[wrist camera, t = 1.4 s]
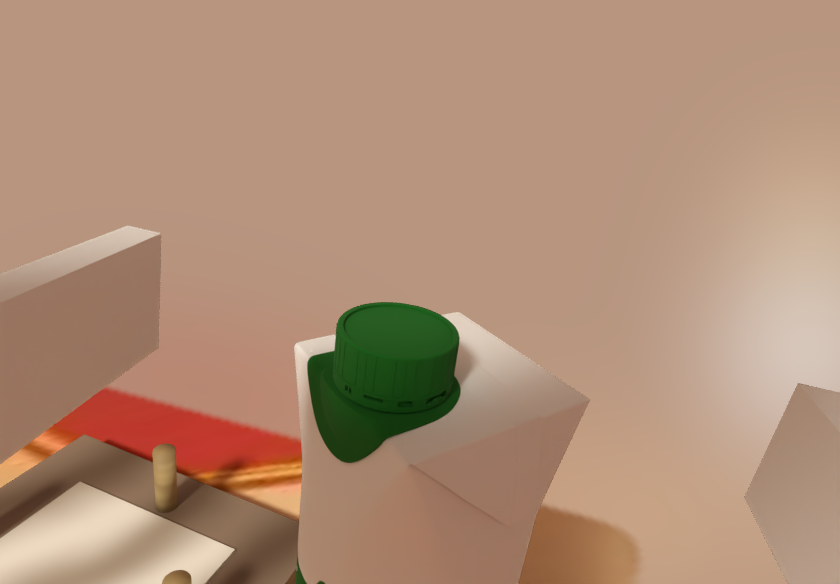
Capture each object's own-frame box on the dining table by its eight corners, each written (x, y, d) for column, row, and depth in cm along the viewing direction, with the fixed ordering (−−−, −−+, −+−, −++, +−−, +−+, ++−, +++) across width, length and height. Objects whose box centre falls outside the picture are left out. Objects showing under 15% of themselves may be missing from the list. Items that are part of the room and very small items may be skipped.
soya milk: (261, 664, 29) (274, 285, 21) (413, 586, 34) (469, 258, 27) (350, 857, 23) (416, 419, 15) (521, 727, 28) (636, 350, 20)
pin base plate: (321, 550, 36) (327, 477, 34) (52, 932, 20) (31, 840, 18) (86, 452, 41) (78, 383, 39) (-277, 695, 25) (-324, 601, 23)
